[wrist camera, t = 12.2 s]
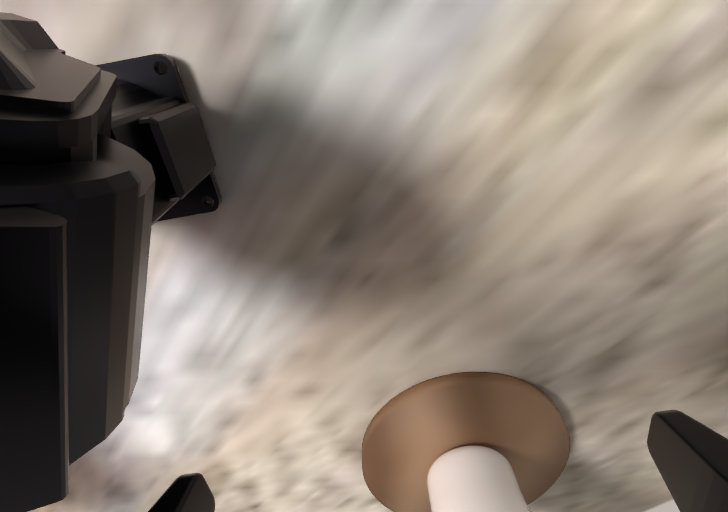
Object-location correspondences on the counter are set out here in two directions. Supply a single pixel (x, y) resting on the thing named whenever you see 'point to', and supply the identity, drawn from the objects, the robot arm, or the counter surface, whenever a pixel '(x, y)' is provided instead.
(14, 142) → the robot arm
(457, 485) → the white tapered cylinder
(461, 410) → the walnut coaster
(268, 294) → the counter surface
